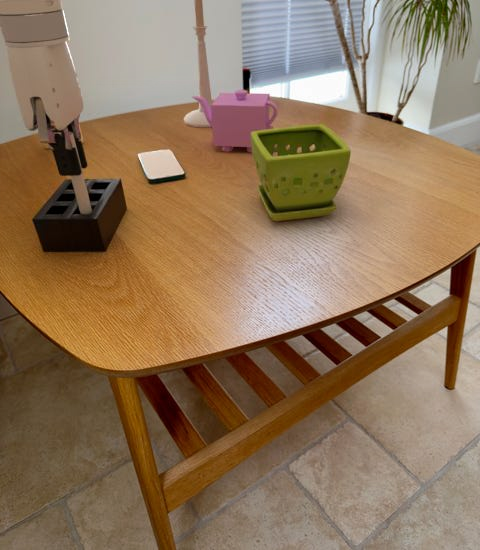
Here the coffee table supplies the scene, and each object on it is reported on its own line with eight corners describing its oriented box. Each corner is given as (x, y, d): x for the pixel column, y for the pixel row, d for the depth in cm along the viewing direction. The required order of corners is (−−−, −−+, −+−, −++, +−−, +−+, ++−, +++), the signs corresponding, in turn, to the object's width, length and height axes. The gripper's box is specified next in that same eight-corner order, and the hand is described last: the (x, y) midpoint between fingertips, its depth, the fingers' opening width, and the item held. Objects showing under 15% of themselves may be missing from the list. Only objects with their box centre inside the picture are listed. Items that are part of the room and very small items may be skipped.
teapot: (279, 139, 107) (280, 85, 100) (274, 154, 100) (276, 97, 92) (200, 136, 111) (196, 84, 103) (190, 151, 103) (185, 95, 95)
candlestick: (228, 112, 127) (223, -11, 109) (230, 126, 116) (225, -7, 98) (185, 113, 126) (172, -9, 108) (182, 128, 116) (168, -5, 98)
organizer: (43, 252, 69) (31, 219, 66) (73, 208, 81) (65, 179, 77) (105, 251, 69) (96, 218, 65) (127, 208, 80) (121, 178, 77)
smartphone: (137, 157, 100) (148, 184, 88) (137, 153, 100) (148, 179, 88) (171, 152, 102) (186, 178, 90) (170, 148, 102) (186, 173, 90)
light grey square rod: (79, 218, 68) (57, 135, 60) (83, 212, 69) (62, 131, 61) (91, 218, 68) (70, 135, 60) (94, 212, 69) (74, 131, 61)
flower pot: (319, 187, 85) (325, 122, 78) (344, 222, 74) (354, 150, 67) (249, 194, 84) (248, 128, 76) (265, 231, 73) (265, 158, 65)
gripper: (31, 21, 59) (68, 151, 70) (-30, 41, 47) (26, 195, 58) (85, 20, 59) (113, 151, 70) (38, 39, 46) (81, 195, 57)
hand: (73, 170), depth 64 cm, fingers closed on light grey square rod, 1 cm apart
